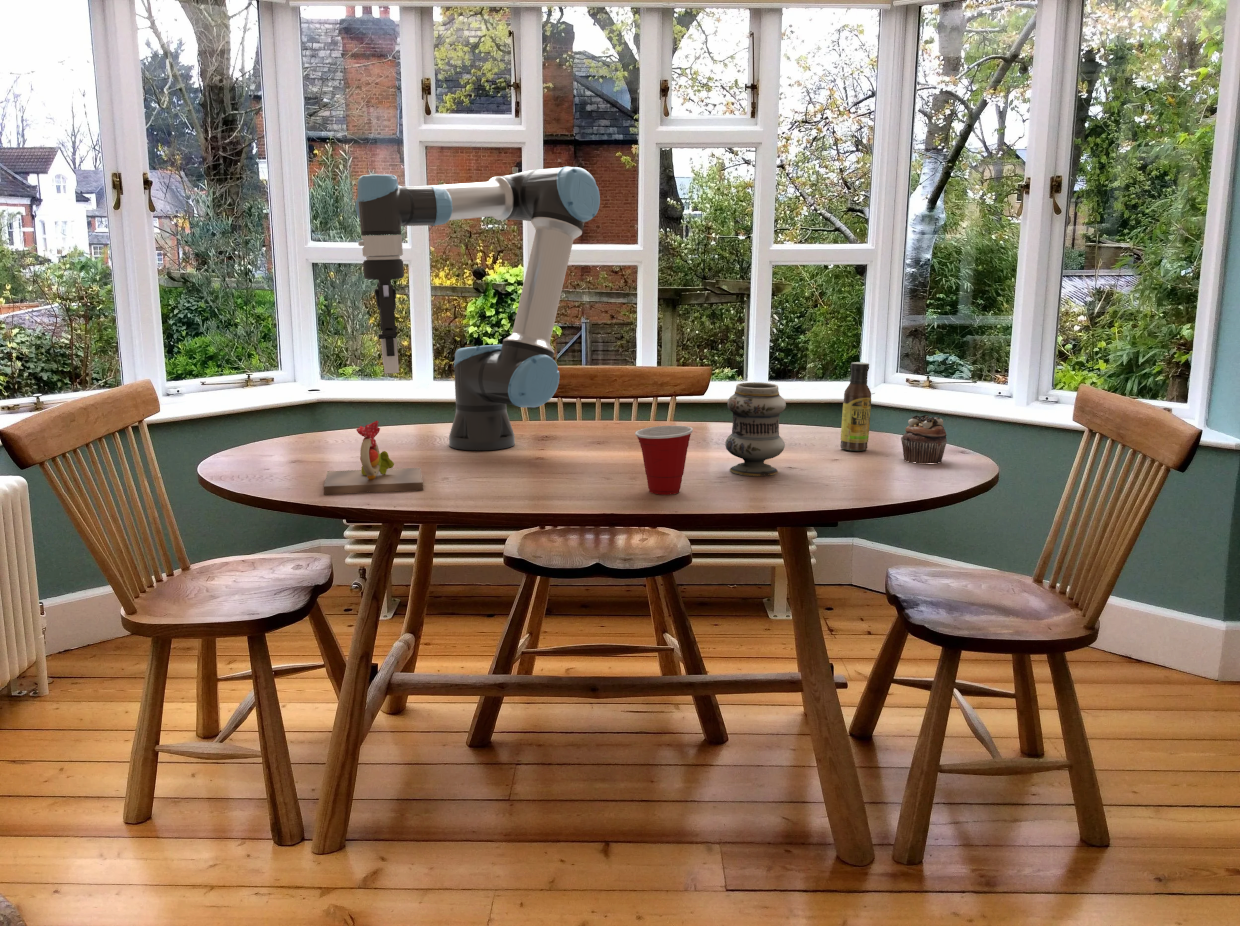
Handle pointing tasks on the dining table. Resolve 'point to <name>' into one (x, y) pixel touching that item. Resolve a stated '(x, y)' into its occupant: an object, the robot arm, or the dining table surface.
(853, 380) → the sauce bottle
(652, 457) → the plastic cup
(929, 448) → the cupcake
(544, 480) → the dining table surface
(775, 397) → the apothecary jar
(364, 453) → the bird rattle
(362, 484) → the walnut board
